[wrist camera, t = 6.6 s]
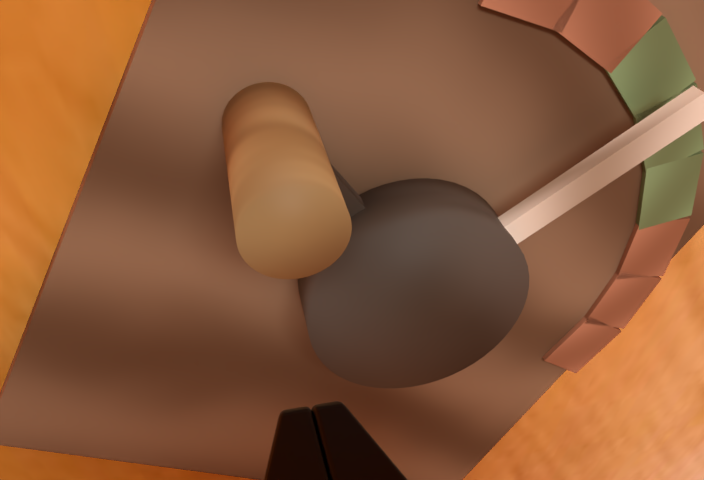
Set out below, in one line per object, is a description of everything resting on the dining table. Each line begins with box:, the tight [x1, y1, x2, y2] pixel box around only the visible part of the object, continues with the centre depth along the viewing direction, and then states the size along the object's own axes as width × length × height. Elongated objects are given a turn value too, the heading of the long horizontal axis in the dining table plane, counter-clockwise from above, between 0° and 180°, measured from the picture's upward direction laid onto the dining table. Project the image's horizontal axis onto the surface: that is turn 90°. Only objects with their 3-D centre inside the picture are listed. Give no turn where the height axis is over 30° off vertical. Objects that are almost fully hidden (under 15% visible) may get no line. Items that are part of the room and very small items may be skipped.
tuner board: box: [0, 0, 704, 480], centre depth 22 cm, size 24×21×1 cm
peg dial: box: [222, 82, 704, 389], centre depth 17 cm, size 14×12×5 cm
